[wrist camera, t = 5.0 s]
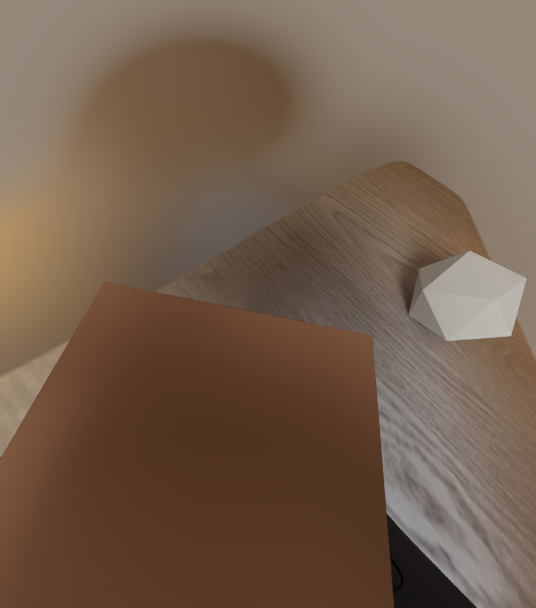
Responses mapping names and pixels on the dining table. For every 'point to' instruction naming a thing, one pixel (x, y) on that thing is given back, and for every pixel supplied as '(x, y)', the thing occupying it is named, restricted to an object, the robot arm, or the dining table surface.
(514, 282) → the die
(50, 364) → the dining table surface
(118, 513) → the brown block
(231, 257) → the dining table surface
